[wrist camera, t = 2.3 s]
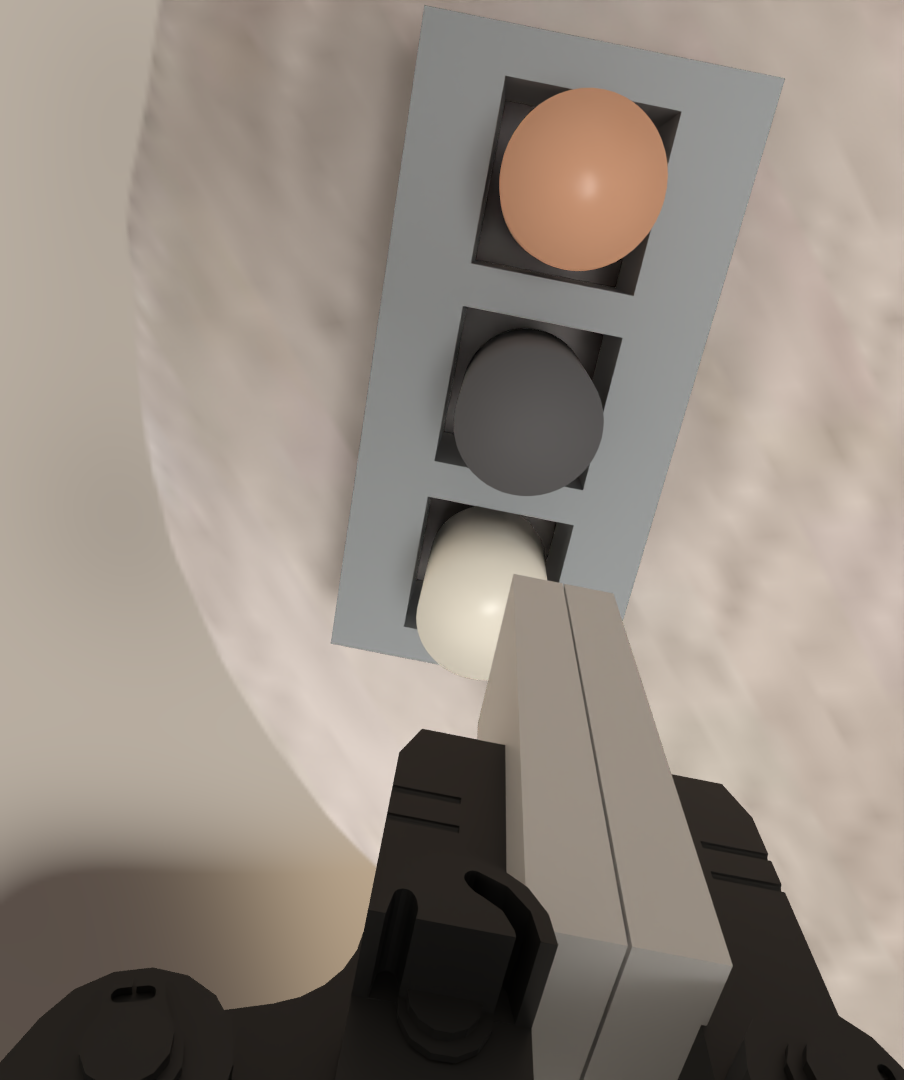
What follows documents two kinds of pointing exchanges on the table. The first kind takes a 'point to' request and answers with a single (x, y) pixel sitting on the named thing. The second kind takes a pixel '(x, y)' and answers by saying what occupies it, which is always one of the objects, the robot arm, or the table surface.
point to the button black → (527, 414)
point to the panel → (539, 306)
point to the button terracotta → (583, 179)
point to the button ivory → (474, 586)
